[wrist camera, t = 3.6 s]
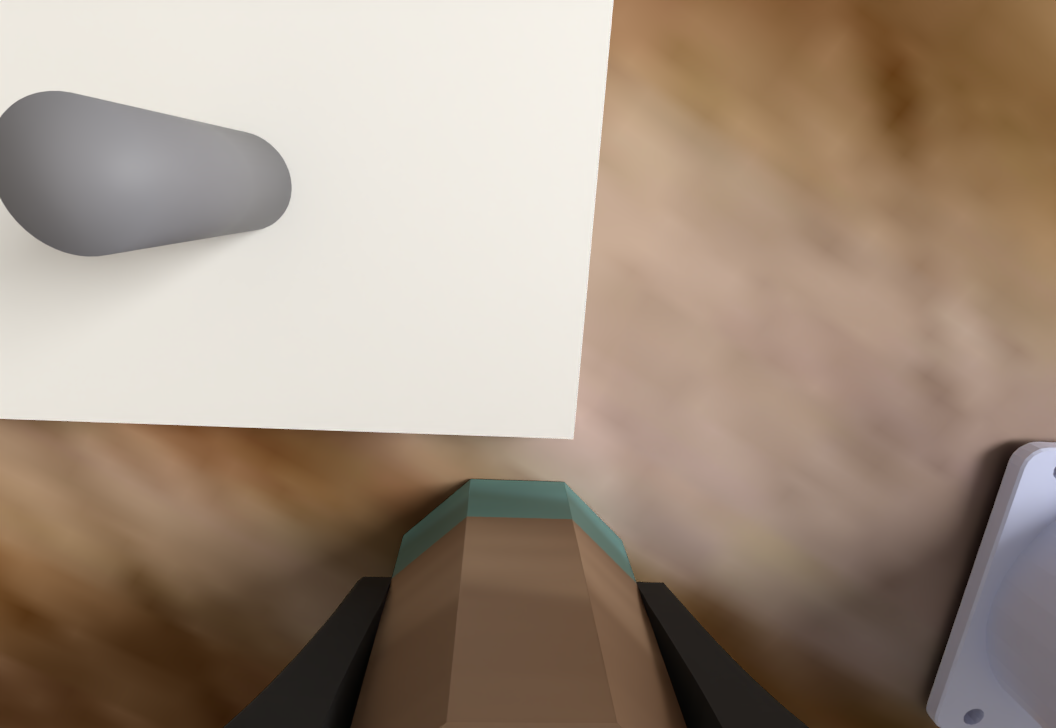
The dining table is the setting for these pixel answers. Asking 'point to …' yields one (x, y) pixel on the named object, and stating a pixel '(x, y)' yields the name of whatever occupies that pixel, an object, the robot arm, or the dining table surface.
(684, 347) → the dining table surface
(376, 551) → the dining table surface
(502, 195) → the pin board
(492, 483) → the sleeve
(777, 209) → the dining table surface
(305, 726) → the robot arm
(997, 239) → the dining table surface
